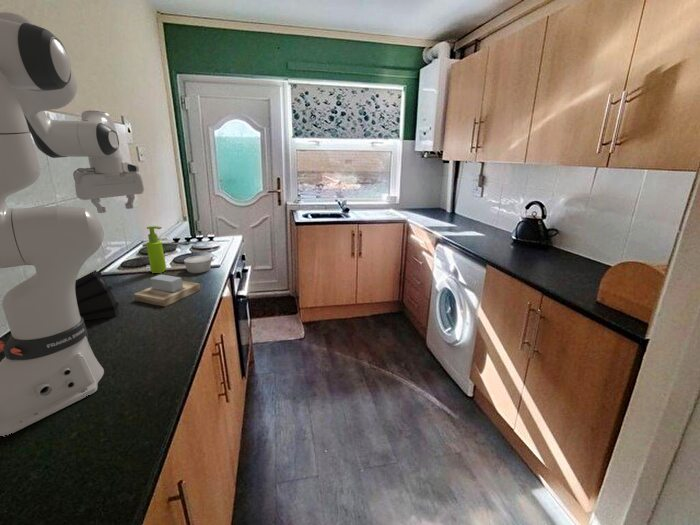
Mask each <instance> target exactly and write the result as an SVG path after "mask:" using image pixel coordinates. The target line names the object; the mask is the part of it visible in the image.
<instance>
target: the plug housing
mask: <svg viewBox="0 0 700 525" xmlns="http://www.w3.org/2000/svg"><path fill="white" fill-rule="evenodd" d="M149 279H150V283H151V287H152V289H157V290H162V291H168V292H176V291H178V290H180V289H182V288H183V284H182V281H183V278H182V277H180V276H172V275H167V274H163V273H160V274H157V275H156V276H153V277H151V278H149Z"/></svg>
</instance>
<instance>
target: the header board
mask: <svg viewBox="0 0 700 525" xmlns="http://www.w3.org/2000/svg"><path fill="white" fill-rule="evenodd" d="M182 284H183V288H182V289H180V290H178V291H176V292H168V291H162V290H157V289H152V286H150V287H147V288H145V289H143V290H140V291H138V292H135V293H133V297H134V298H133V299H134V300H135V302H141V303H144V304H145V303H146V304H151V305H155V306H160V307H167V306H168V307H169V305H171V304H173V303H176V302H178V301H180V300H183V299H184V298H187V297H188V296H191V295H193V294H195V293H197V292H199V291H201V289H202V288H201V284H200V283H198V282H191V281H186V280H182Z"/></svg>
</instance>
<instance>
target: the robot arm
mask: <svg viewBox="0 0 700 525" xmlns="http://www.w3.org/2000/svg"><path fill="white" fill-rule="evenodd" d="M71 67H72V66H71V62H70V58H69V55H68V53H67V50H66V47H65V46H64V44H63V43H62V42H61V40H60V39H59V38H58V37H57V36H56V35H55V34H53V33H52V32H51V31H50V30H48V29H46V28H44V27H41V26H38V25H36V24H35V23H34V22H33V21H32V20H30V19H28V18H26V17H25V16H22V15H20V14H18V13H14V12H7V11H6V12H5V11H4V12H3V11H2V12H0V270H2V269H7V268H15V267H22V266H33V267H34V269H35V273H34V274H33V275H32V276H30V277H29V278H27V279H26V280H23V281H22V282H19V283H18V284H16V285H15V286H13V287H12V288H10V289H9V290H8V291H7V292H6V293H5V295H4V296H3V298H2V301H1V302H2V303H1V308H2V310H3V312H4V315H5V318H6V322H7V325H8V327H9V330H10V333H11V334H10V336H9V338H8V339H7V341H6V342H5V341H2V340H0V353H2V352H3V353H4V356H5V357H4V358H3V359H1V361H0V436H3V437H6V436H5V435H7V436H9V434H10V435H11V433H12V434H14V433H16V432H18V431H20V430H22V429H24V428H26V427H28V426H30V425H32V424H34V423H36V422H38V421H40V420H43V419H45V418H46V417H49V416H50V415H53V414H54V413H56V412H58V411H60V410H62V409H65V408H66V407H68V406H70V405H72V404H74V403H77V402H78V401H81V400H82V399H84V398H85V399H86V398H87V397H89V396H90V395H92V394H94V393H95V392H97V390H98V386H99V385H98V384H99V382H100V380H102V378H103V376H104V374H105V370H104V368H103V367H102V365H101V364H100V362H99V361H98V359H97V358H96V356H95V353H94V351H93V350H92V348H91V345H90V342H89V341H88V339H89V337H88V336H89V335H88V330H87V327H86V324H85V320H83V318H82V317H81V316H80V314H79V309H78V305H77V299H76V292H75V283H76V280H77V278H78V274H79V272H80V269H81V268H82V266H83V265H84V264H85V263H86V261H87V260H88V259H90V257H91V256H93V255H94V254H95V253H96V252H97V251H98V250H99V249H100V248H101V245H102V243H103V241H104V229H103V225H102V222H101V221H100V219H99V218H98V217H97V216H96V215H95V213H93V212H91V211H90V210H89V209H87V208H84V207H74V206H63V205H62V206H61V205H60V206H59V205H57V206H56V205H55V206H53V205H52V206H40V207H39V206H38V207H23V208H21V207H19V208H13V207H9V206H8V205H7V202H6V199H7V198H8V197H9V196H11V195H13V194H15V193H18V192H21V191H22V190H25V189H26V188H28V187H30V186H32V185H33V184H34V183H36V181H37V180H39V178H40V174H41V168H40V164H39V161H38V157H37V152H36V150H35V146H36V148H37V149H38V150H39V151H40V152H41V153H43V154H44V155H46V156H48V157H50V158H51V159H57V158H68V157H69V158H70V157H71V158H73V157H75V158H77V157H78V158H79V157H82V158H83V157H84V158H87V159H88V164H89V167H86V168H84V167H83V168H82V167H79V168H77V169H76V170H74V171H73V174H72V176H73V179H74V187H75V195H76V197H77V199H79V200H81V201H83V200H85V201H88V200H89V201H91V204H92V205H93V206H94V207H95V208H96V211H97V213H98V214H105V213H106V212H107V210H106V207H105V206H102V204H100V203H101V199H105V198H106V199H107V198H115V197H124V196H125V197H126V199H127V202H125V203H124V206H125V209H128V210H130V209H133V208H134V200H135V199H136V198H135V197H136V196H135V195H140V194H141V195H142V194H143V193H144V190H145V188H144V182H143V178H142V176H141V175H140V173H139V171H140V167H139V165H137V164H133V163H130V162H127V161H123V156H122V154H121V151H120V140H119V136H118V132H117V128H116V125H115V122H114V119H113V118H112V115H110V114H108V113H107V112H105V111H104V112H103V111H100V110H99V111H98V110H85V111H83V112H81V116H80V117H81V120H59V119H52V118H48V117H47V116H46V113H45V111H51V110H52V111H53V110H57V109H61V108H63V107H66V106H68V105H69V104H70V103H71V102H72V101H73V100H74V99H75V96H76V95H77V90H78V84H77V80H76V78H75V75H74V72H73V70H72V68H71ZM33 141H34V143H33ZM34 144H35V146H34ZM88 395H89V396H88ZM86 396H87V397H86Z"/></svg>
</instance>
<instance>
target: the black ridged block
mask: <svg viewBox="0 0 700 525" xmlns="http://www.w3.org/2000/svg"><path fill="white" fill-rule="evenodd" d="M112 289H113V288H112V286H111V285H108V283H107V282H106V281H105V279H104V277H102V273H101V271H100V272H98V271H97V270H96V269H95V270H93V271H91V272H89V273H88V274H85V275H84V276H82V277H79V278H78V279H77V278H76V283H75V292H76V299H77V305H78V309H79V314H80V316H81V317H82V318H83V320H84V321H90V320H100V319H108V318H116V317H117V316H118V315H119V308H118V307H119V306H120V305H119V302H116V299H115V296H114V294H113V292H112Z"/></svg>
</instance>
